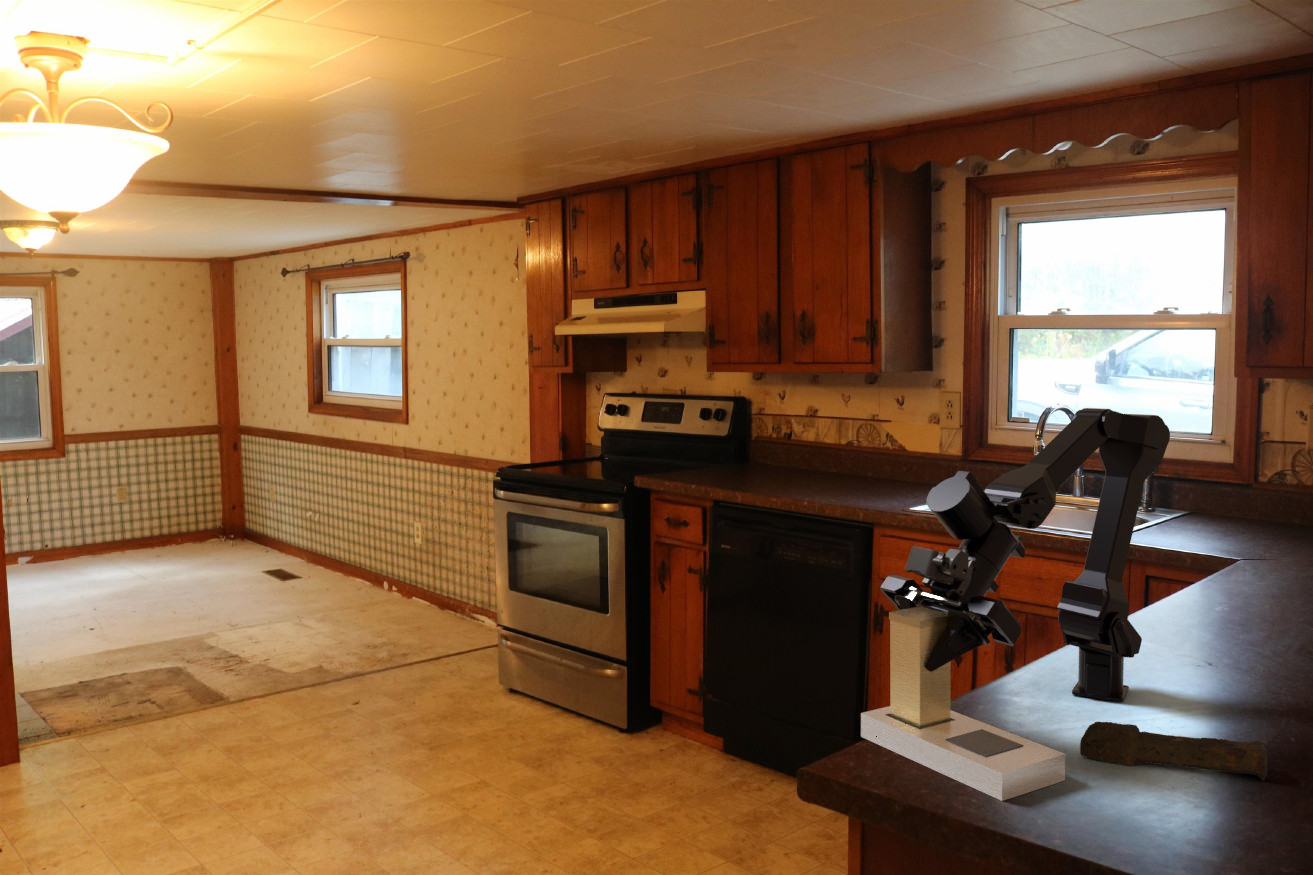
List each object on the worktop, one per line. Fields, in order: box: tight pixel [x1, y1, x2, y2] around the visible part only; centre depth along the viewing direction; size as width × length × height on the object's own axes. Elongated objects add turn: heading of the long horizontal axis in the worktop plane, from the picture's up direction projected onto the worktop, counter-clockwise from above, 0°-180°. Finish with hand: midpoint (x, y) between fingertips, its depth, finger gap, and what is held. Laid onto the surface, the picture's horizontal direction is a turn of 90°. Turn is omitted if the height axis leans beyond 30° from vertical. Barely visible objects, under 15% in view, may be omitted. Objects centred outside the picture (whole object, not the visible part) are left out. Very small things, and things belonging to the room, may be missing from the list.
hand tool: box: [1079, 721, 1268, 781], centre depth 117 cm, size 19×4×5 cm, turn 69°
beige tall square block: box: [888, 606, 952, 728], centre depth 124 cm, size 5×5×13 cm
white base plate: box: [860, 705, 1066, 802], centre depth 120 cm, size 10×22×3 cm, turn 30°
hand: (911, 663), depth 124 cm, fingers closed on beige tall square block, 5 cm apart
